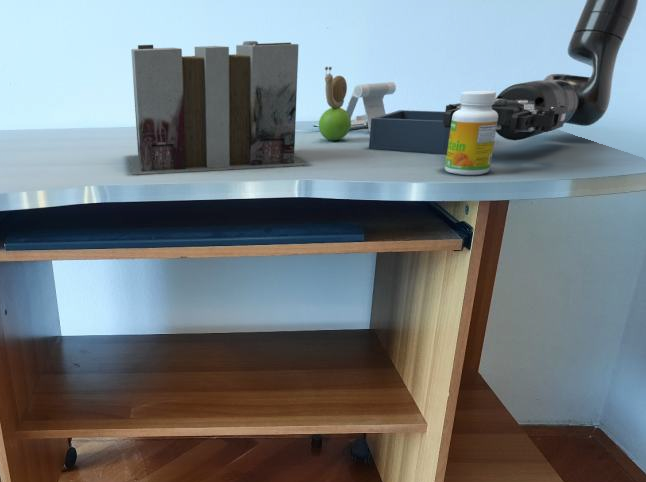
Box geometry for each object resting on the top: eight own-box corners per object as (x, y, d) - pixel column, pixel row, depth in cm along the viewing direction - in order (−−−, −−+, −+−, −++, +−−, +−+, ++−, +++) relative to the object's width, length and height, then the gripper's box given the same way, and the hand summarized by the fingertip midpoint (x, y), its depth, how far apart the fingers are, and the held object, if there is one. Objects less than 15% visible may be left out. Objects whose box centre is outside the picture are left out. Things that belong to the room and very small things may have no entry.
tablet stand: (365, 126, 126) (369, 80, 122) (396, 130, 120) (401, 82, 116) (332, 130, 122) (335, 83, 118) (363, 135, 116) (367, 85, 112)
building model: (129, 156, 103) (121, 45, 96) (281, 148, 105) (284, 39, 98) (132, 174, 89) (123, 46, 82) (307, 165, 91) (313, 39, 84)
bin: (472, 142, 104) (477, 112, 102) (449, 154, 95) (454, 121, 93) (396, 138, 111) (399, 110, 109) (368, 148, 102) (371, 118, 100)
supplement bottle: (435, 169, 85) (446, 91, 81) (469, 166, 87) (481, 89, 82) (463, 177, 80) (475, 94, 76) (498, 173, 82) (512, 92, 78)
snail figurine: (309, 142, 110) (312, 66, 105) (327, 137, 115) (331, 64, 109) (337, 144, 107) (342, 66, 102) (355, 139, 111) (361, 64, 106)
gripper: (484, 80, 95) (430, 88, 85) (590, 82, 85) (544, 92, 76) (476, 133, 98) (423, 146, 88) (577, 140, 89) (531, 157, 79)
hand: (479, 121), depth 82 cm, fingers open, 8 cm apart
